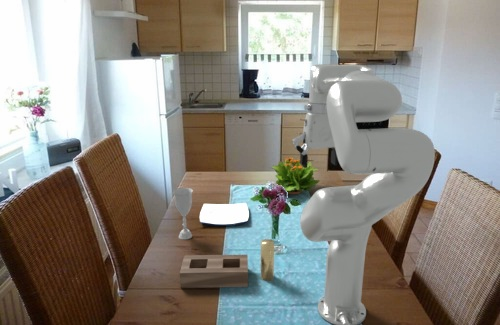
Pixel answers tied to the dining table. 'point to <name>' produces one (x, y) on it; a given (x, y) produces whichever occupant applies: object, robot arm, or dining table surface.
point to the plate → (224, 214)
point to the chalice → (183, 208)
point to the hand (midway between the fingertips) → (319, 165)
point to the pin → (267, 259)
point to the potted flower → (295, 176)
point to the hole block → (214, 271)
